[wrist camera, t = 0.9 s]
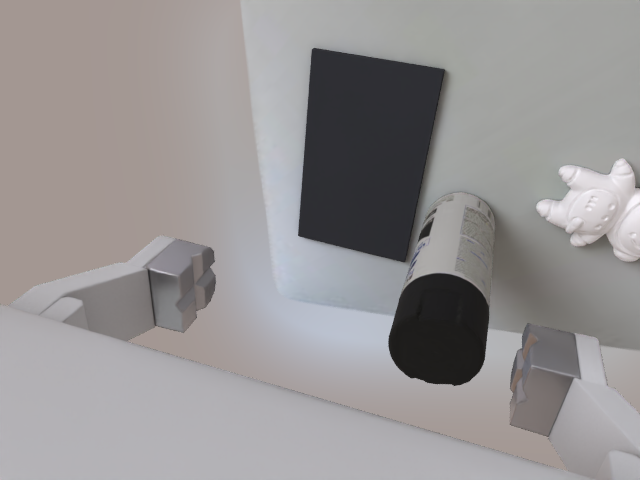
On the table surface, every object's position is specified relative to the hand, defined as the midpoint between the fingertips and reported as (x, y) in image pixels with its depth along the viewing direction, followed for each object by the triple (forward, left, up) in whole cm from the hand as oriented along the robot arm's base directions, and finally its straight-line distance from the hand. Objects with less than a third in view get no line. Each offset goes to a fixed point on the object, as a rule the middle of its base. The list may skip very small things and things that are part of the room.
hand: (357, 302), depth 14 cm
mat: (+13, -8, -38) cm, 40 cm away
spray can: (+17, +3, -38) cm, 41 cm away
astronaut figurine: (+12, +15, -38) cm, 42 cm away
